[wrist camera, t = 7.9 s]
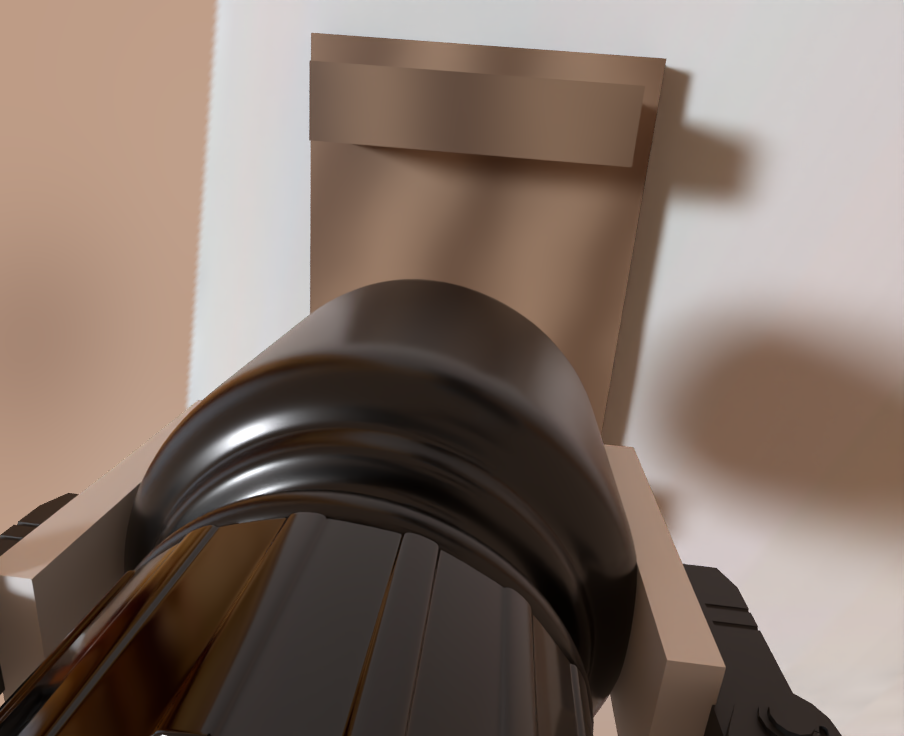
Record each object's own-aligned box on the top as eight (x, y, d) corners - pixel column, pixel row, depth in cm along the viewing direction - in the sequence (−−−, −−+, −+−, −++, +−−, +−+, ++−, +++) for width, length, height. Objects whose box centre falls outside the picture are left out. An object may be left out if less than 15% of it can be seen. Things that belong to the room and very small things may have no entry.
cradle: (657, 63, 26) (702, 36, 20) (579, 525, 33) (594, 610, 27) (321, 38, 27) (264, 6, 21) (318, 494, 34) (275, 569, 28)
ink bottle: (188, 446, 17) (-409, 985, 6) (374, 187, 15) (-78, 294, 3) (462, 641, 19) (387, 1385, 7) (678, 435, 16) (1079, 1106, 5)
